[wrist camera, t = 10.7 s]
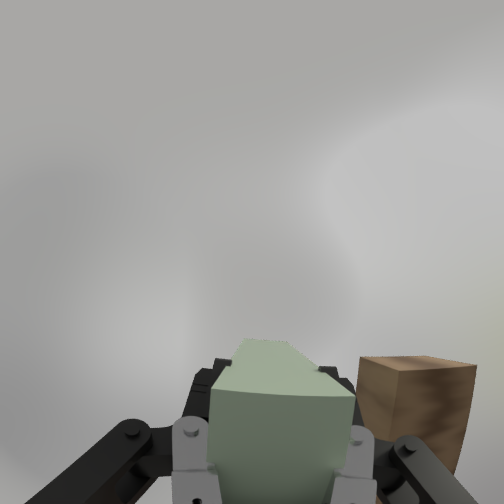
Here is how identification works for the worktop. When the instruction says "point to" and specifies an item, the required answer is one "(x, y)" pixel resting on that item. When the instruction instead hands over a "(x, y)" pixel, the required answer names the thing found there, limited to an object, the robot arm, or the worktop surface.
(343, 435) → the long brick
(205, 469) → the robot arm
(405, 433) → the walnut stand
